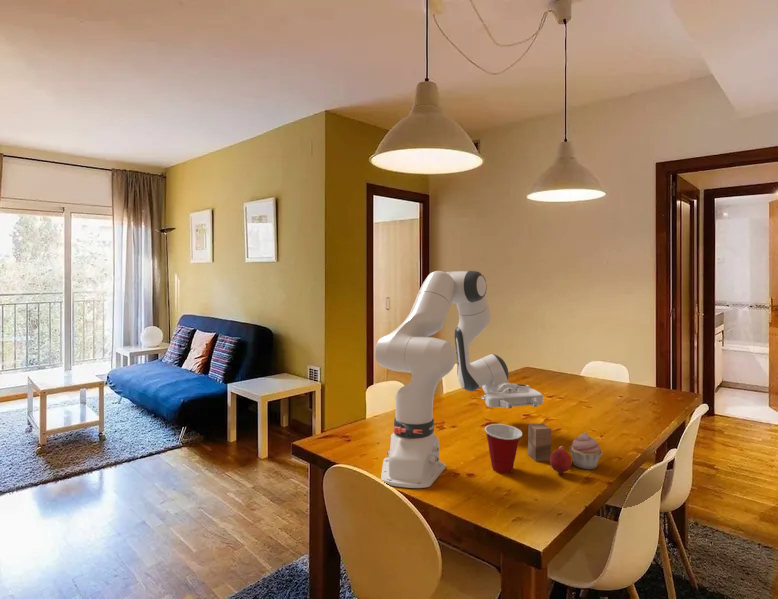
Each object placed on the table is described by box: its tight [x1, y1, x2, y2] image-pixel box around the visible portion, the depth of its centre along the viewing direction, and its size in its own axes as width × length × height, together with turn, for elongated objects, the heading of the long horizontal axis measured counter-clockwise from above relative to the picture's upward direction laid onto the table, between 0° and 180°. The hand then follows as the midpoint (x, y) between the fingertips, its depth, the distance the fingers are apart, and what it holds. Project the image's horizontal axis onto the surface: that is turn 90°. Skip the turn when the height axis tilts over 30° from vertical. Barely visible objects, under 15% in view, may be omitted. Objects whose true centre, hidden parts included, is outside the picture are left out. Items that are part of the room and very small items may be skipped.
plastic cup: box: [484, 423, 523, 474], centre depth 137 cm, size 11×11×12 cm
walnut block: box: [527, 423, 552, 462], centre depth 146 cm, size 5×5×10 cm
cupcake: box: [568, 432, 603, 470], centre depth 140 cm, size 9×9×10 cm
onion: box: [549, 445, 573, 475], centre depth 134 cm, size 6×6×8 cm
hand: (523, 405), depth 158 cm, fingers open, 8 cm apart
